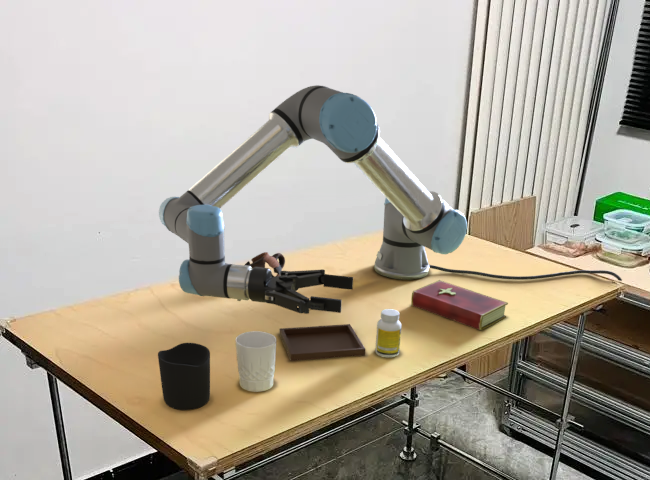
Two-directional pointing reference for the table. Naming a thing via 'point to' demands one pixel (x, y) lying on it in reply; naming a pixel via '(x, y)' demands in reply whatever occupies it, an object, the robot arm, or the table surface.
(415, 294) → the hardcover book
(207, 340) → the table surface
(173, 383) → the pen holder
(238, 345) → the white cup
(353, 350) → the tray
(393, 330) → the supplement bottle
